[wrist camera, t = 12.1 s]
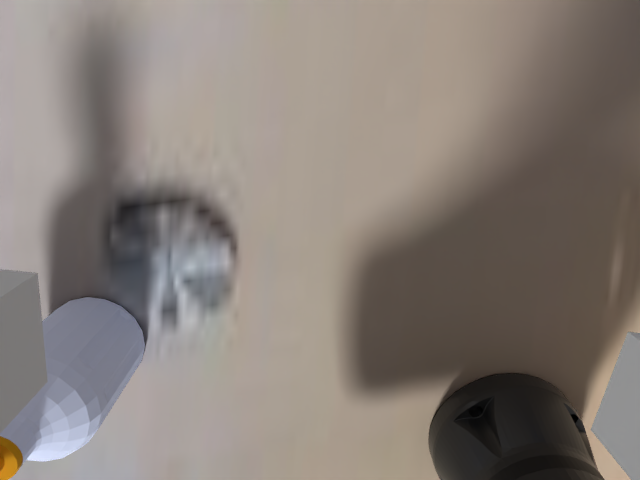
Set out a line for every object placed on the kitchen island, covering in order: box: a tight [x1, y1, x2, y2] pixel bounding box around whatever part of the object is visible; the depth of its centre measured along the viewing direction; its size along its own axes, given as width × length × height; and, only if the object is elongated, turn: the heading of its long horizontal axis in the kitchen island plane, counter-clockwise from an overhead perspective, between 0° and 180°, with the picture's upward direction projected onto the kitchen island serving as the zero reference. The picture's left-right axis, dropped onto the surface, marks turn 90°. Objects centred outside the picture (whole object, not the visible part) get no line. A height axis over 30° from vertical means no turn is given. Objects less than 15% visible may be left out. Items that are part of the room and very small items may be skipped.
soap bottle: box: [0, 297, 145, 480], centre depth 31 cm, size 9×9×25 cm
